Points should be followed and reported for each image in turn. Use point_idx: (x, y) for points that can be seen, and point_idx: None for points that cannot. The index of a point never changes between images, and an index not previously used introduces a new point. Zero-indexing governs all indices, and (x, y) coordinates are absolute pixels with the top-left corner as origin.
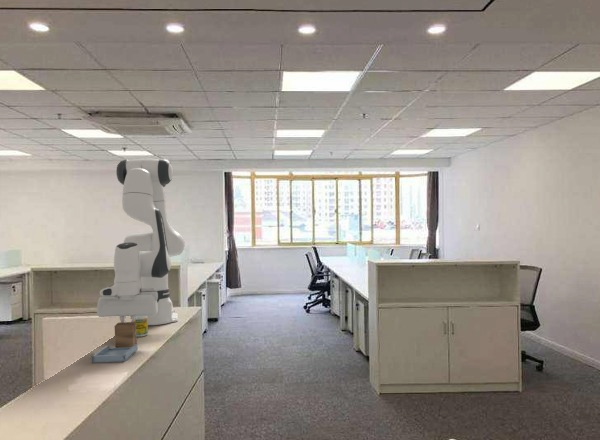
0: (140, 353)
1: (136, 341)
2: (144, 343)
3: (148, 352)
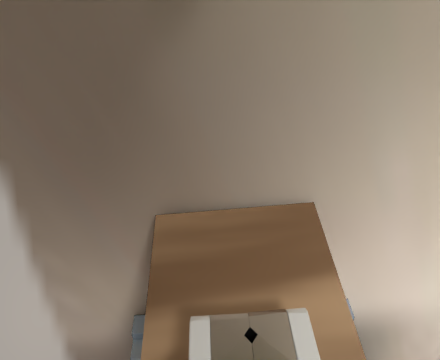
0: (379, 352)
1: (320, 231)
2: (371, 143)
3: (427, 338)
